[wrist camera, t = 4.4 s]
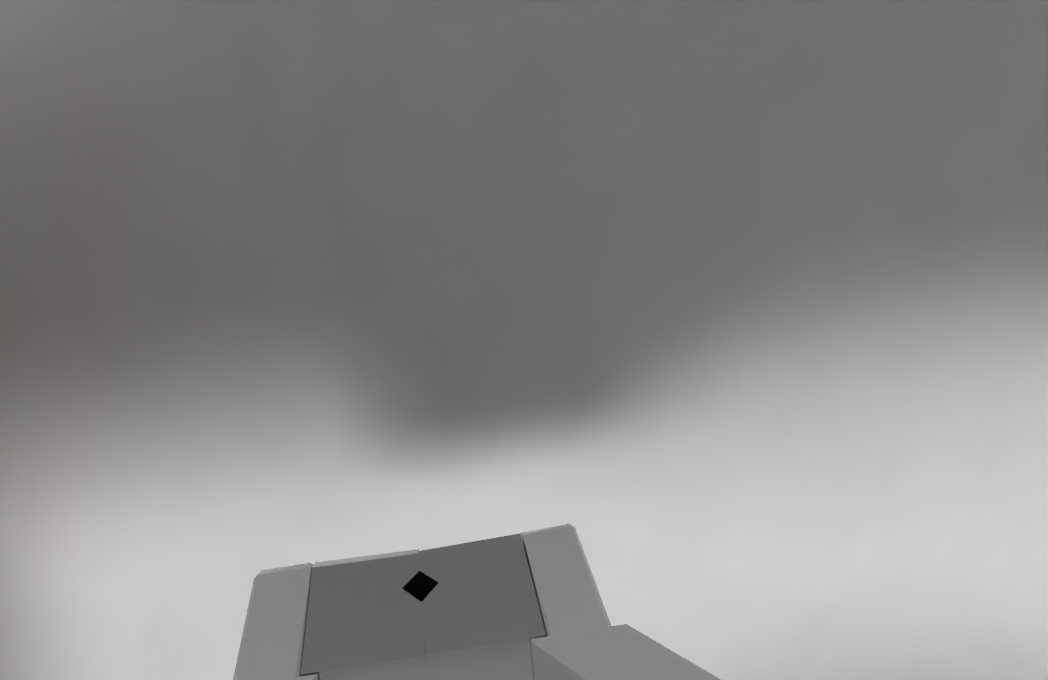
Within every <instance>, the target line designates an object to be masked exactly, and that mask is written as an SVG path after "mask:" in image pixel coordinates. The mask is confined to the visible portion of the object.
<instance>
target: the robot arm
mask: <svg viewBox="0 0 1048 680" xmlns="http://www.w3.org/2000/svg"><path fill="white" fill-rule="evenodd" d="M233 680H721V679H719V678H717V677H715V676H714V675H712V674H710V673H709V672H707V671H705V670H704V669H702V668H700V667H698V666H697V665H695V664H693V663H692V662H690V661H688V660H687V659H685V658H683V657H681V656H680V655H678V654H676V653H675V652H673V651H671V650H670V649H668V648H666V647H665V646H663V645H661V644H659V643H658V642H656V641H654V640H653V639H651V638H649V637H648V636H646V635H644V634H642V633H641V632H639V631H637V630H636V629H634V628H632V627H631V626H629V625H627V624H624V625H618V626H611V624H610V621H609V619H608V616H607V613H606V611H605V608H604V605H603V602H602V600H601V597H600V594H599V592H598V589H597V586H596V583H595V581H594V578H593V575H592V573H591V570H590V567H589V564H588V562H587V559H586V556H585V554H584V551H583V548H582V545H581V543H580V540H579V537H578V535H577V532H576V529H575V528H574V527H573V526H572V525H570V524H566V525H561V526H555V527H550V528H545V529H539V530H534V531H529V532H523V533H520V534H515V535H509V536H503V537H497V538H492V539H486V540H480V541H474V542H468V543H463V544H457V545H451V546H445V547H439V548H434V549H428V550H422V551H419V549H418V550H410V551H402V552H394V553H386V554H379V555H371V556H363V557H355V558H347V559H340V560H332V561H324V562H316V563H315V564H314V565H313V564H311V563H306V564H300V565H293V566H287V567H281V568H274V569H268V570H262V571H260V572H259V573H258V575H257V576H256V577H255V578H254V582H253V586H252V591H251V596H250V601H249V606H248V610H247V615H246V620H245V625H244V630H243V634H242V639H241V644H240V649H239V654H238V658H237V663H236V668H235V673H234V678H233Z"/></svg>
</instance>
